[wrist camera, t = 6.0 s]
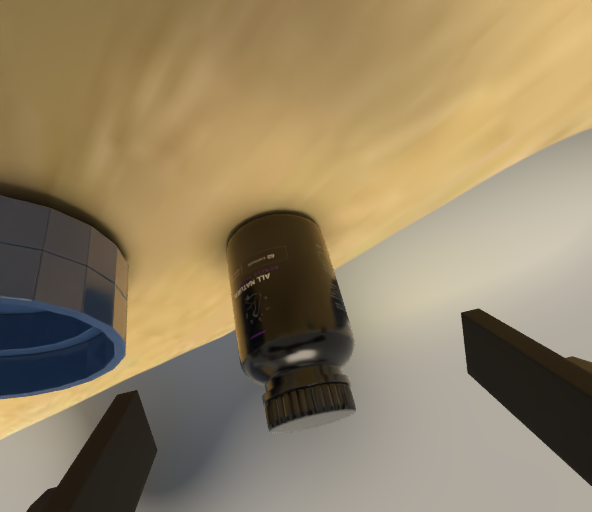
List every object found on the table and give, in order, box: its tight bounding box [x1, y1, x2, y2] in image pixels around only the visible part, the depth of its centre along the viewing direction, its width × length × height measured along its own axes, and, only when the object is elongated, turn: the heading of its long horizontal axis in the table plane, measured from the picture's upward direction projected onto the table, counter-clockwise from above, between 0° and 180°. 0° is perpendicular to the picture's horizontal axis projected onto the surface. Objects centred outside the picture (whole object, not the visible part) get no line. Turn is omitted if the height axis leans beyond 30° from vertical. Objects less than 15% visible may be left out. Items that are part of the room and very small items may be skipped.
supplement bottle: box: [227, 214, 356, 433], centre depth 23 cm, size 7×7×12 cm
